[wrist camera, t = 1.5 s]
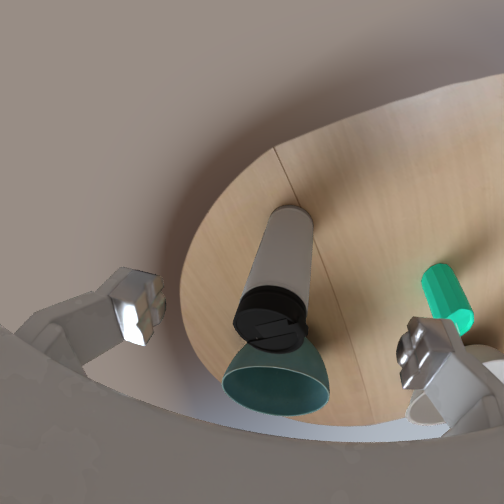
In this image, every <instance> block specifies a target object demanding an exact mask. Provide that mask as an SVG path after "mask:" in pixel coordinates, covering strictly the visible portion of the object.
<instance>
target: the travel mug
mask: <svg viewBox="0 0 504 504" xmlns="http://www.w3.org/2000/svg"><path fill="white" fill-rule="evenodd" d="M312 245H313V221H312V218H311V216H310V215H309V213H307V212H306V211H305V210H304V209H302V208H300V207H298V206H294V205H286V206H282V207H279V208H278V209H276V210H275V211H274V212H273V213H272V214H271V216H270V218H269V221H268V224H267V226H266V229H265V232H264V235H263V237H262V240H261V243H260V246H259V249H258V251H257V254H256V257H255V260H254V262H253V265H252V268H251V271H250V274H249V276H248V279H247V282H246V285H245V287H244V290H243V293H242V296H241V299H240V302H239V306H238V309H237V311H236V314H235V317H234V320H233V325H234V328H235V330H236V331H237V332H238V334H239V335H240V336H241V337H242V338H243V339H244V340H246V341H247V344H249V345H250V346H252V347H253V348H255V349H257V350H260V351H263V352H266V353H271V354H287V353H291V352H294V351H296V350H297V349H299V348H300V347H301V346H302V344H303V342H304V337H305V336H307V335H308V326H307V324H306V318H307V312H308V301H309V289H310V276H311V262H312Z"/></svg>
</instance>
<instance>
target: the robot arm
mask: <svg viewBox="0 0 504 504" xmlns="http://www.w3.org/2000/svg"><path fill="white" fill-rule="evenodd" d="M163 287H164V283H163V278H162V277H161V276H160V275H156V274H151V273H148V272H143V271H139V270H134V269H131V268H126V267H120V268H119V269H118V270H117V271H115V272H114V274H113V275H111V276H110V277H109V279H107V280H106V281H105V282H104V283H103V284H102V285H101V286H100V287H99V288H98V289H97V290H96V291H95V292H92V291H90V292H88V293H85V294H82V295H79V296H77V297H74V298H71V299H69V300H66V301H63V302H61V303H58V304H55V305H52V306H50V307H48V308H45V309H42V310H39V311H37V312H35V313H34V314H33V315H32V316H31V317H30V318H29V319H28V320H27V321H26V322H25V323H24V324H23V325H22V326H21V327H20V328H19V329H18V330H17V331H16V332H15V333H14V334H13V333H11V332H10V331H9V330H7V329H6V328H4V327H3V326H2V325H0V504H504V384H503V383H502V382H501V381H500V380H499V379H498V378H497V377H496V376H495V375H494V374H493V373H492V372H491V371H490V370H489V369H488V368H486V367H485V366H484V365H483V364H482V363H481V362H480V361H479V360H478V359H477V358H476V357H474V356H473V355H472V354H471V353H467V351H466V349H465V347H464V344H463V342H462V340H461V338H460V335H459V333H458V331H457V329H456V327H455V325H454V323H453V321H452V320H450V319H442V318H438V319H435V318H424V317H414V316H413V317H412V318H411V319H410V321H409V323H408V325H407V328H408V332H406V333H405V334H403V335H402V336H401V338H400V340H399V342H398V346H397V350H396V357H397V363H398V364H399V365H400V366H401V367H402V370H401V372H400V377H401V382H402V388H403V389H418V390H424V392H425V393H426V395H427V396H428V398H429V399H430V400H431V402H432V403H433V405H434V406H435V407H436V409H437V410H438V412H439V413H440V415H441V416H442V417H443V419H444V420H445V422H446V423H447V425H448V426H449V427H450V429H449V430H448V431H447V432H446V433H445V434H443V435H442V436H441V437H439V438H432V439H424V440H412V441H398V442H375V443H373V442H372V443H371V442H365V443H364V442H363V443H362V442H331V441H318V440H306V439H296V438H289V437H281V436H274V435H268V434H261V433H256V432H251V431H245V430H240V429H235V428H231V427H227V426H221V425H218V424H214V423H210V422H206V421H202V420H199V419H195V418H192V417H188V416H184V415H181V414H178V413H175V412H172V411H169V410H166V409H163V408H160V407H157V406H154V405H151V404H149V403H146V402H143V401H141V400H138V399H135V398H133V397H130V396H128V395H125V394H123V393H120V392H118V391H116V390H113V389H111V388H109V387H107V386H105V385H102V384H100V383H98V382H96V381H94V380H92V379H90V378H88V377H87V375H86V373H85V371H84V370H83V368H82V366H83V365H84V364H86V363H88V362H89V361H91V360H93V359H94V358H96V357H98V356H99V355H101V354H103V353H104V352H106V351H108V350H109V349H111V348H113V347H114V346H116V345H118V344H119V343H121V342H123V340H126V341H130V342H132V343H136V344H139V345H143V346H146V344H147V343H148V341H149V340H150V338H151V337H152V335H153V333H154V331H153V327H154V326H156V325H158V324H160V323H161V321H162V319H163V317H164V314H165V311H166V299H165V296H164V295H163V293H162V292H161V290H162V289H163Z"/></svg>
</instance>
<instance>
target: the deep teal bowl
mask: <svg viewBox="0 0 504 504" xmlns="http://www.w3.org/2000/svg"><path fill="white" fill-rule="evenodd" d="M222 388H223V390H224V392H225V393H226V394H227V395H228V396H229V397H230V398H231V399H232V400H233V401H235V402H236V403H238V404H240V405H242V406H243V407H246V408H248V409H250V410H253V411H256V412H260V413H263V414H269V415H275V416H300V415H305V414H309V413H312V412H315V411H317V410H319V409H321V408H323V407H324V406H325V405H326V404H327V402H328V401H329V395H330V389H329V380H328V375H327V371H326V368H325V365H324V362H323V360H322V358H321V356H320V354H319V352H318V351H317V349H316V348H315V347H314V345H313V344H312V343H311V342H310V341H309V340H308V339H307V338H306V337H304V342H303V344H302V346H301V347H300V348H299V349H297V350H296V351H294V352H291V353H287V354H271V353H266V352H263V351H260V350H257V349H255V348H253V347H252V346H250V345H249V344H246V345H245V346H244V347H243V348H242V349H241V350H240V351H239V352H238V353H237V354H236V356H235V357H234V359H233V360H232V362H231V363H230V365H229V366H228V368H227V370H226V372H225V374H224V377H223V379H222Z"/></svg>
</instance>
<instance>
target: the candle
mask: <svg viewBox="0 0 504 504" xmlns="http://www.w3.org/2000/svg"><path fill="white" fill-rule="evenodd" d="M421 282H422V288H423V290H424V293H425V296H426V299H427V301H428V304H429V307H430V310H431V313H432V316H433V318H435V319H438V318H442V319H450V320H452V321H453V323H454V325H455V327H456V329H457V331H458V333H459V335H460V336H462V335H463V334H465V333H466V332H467V331H469V330H470V328H471V326H472V325H473V323H474V313H473V310H472V308H471V306H470V304H469V302H468V300H467V298H466V295H465V293H464V291H463V289H462V287H461V285H460V283H459V281H458V280H457V278H456V276H455V274H454V272H453V270H452V269H451V268H450V267H449V266H448V265H447V264H441V263H439V264H436V265H434V266H431V267H430V268H429V269H428V270H427V271H426V272H425V273H424V275H423V278H422V280H421Z"/></svg>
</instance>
